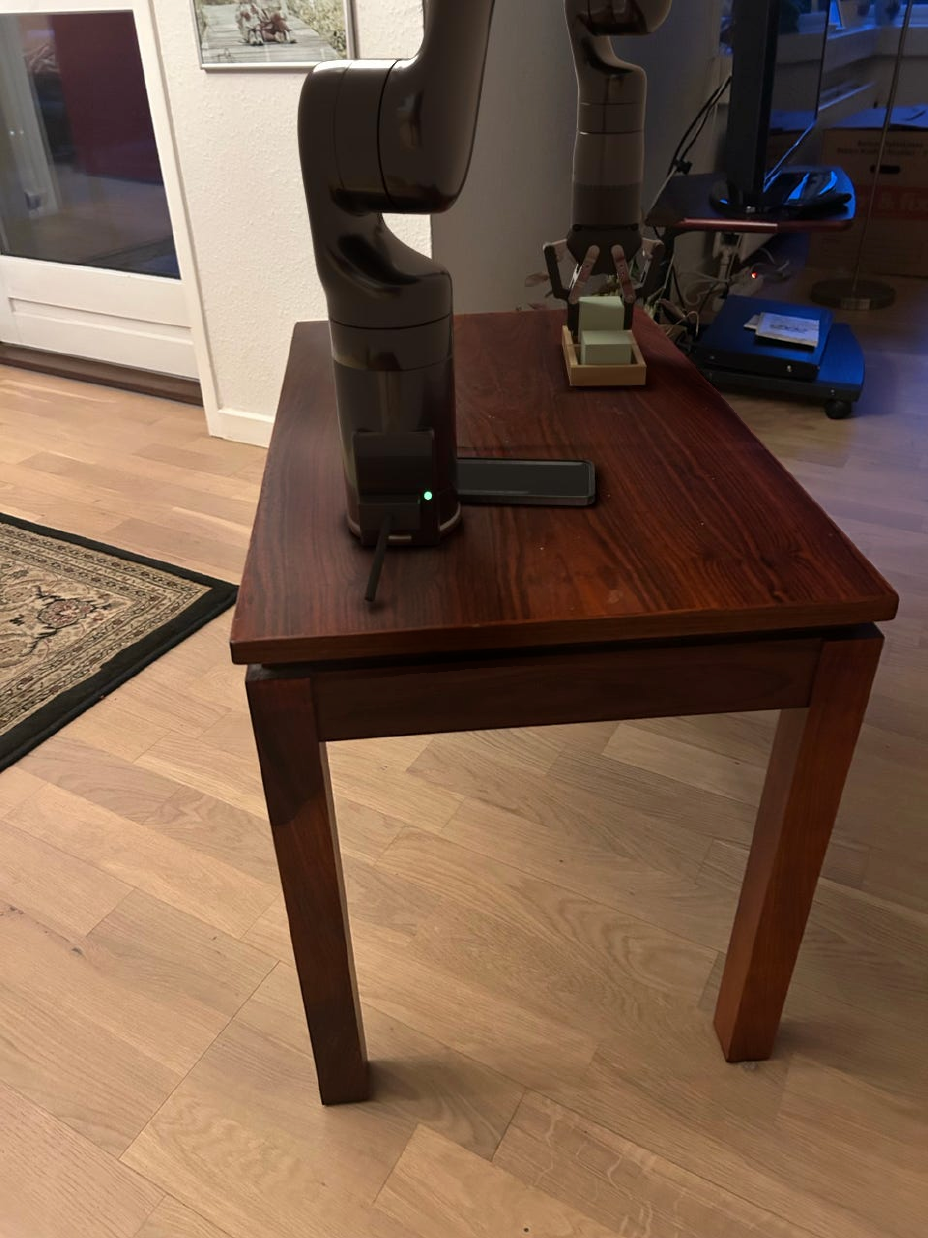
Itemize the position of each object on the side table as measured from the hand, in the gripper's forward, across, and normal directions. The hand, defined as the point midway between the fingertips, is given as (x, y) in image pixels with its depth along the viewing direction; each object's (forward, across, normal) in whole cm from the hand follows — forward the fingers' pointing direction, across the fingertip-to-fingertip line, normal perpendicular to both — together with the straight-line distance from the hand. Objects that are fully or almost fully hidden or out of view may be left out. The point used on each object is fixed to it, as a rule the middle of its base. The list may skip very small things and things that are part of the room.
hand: (598, 332), depth 111 cm
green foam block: (+2, 0, -7) cm, 8 cm away
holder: (+3, 0, -4) cm, 5 cm away
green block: (0, 0, 0) cm, 0 cm away
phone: (+3, -11, -35) cm, 37 cm away
